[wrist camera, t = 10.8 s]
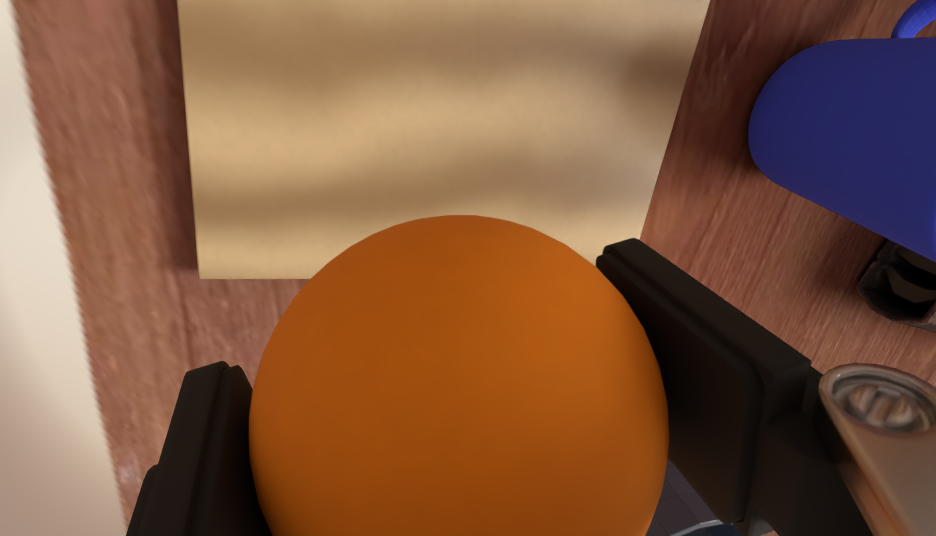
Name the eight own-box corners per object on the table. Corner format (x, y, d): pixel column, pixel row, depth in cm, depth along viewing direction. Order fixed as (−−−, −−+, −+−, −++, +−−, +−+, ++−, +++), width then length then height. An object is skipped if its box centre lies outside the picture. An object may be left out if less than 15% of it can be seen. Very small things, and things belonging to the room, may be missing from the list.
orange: (301, 488, 12) (376, 861, 7) (178, 235, 9) (132, 550, 3) (542, 375, 14) (754, 594, 8) (510, 134, 11) (813, 240, 5)
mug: (943, 27, 27) (1248, 38, 18) (776, 218, 29) (976, 307, 21) (880, -97, 23) (1231, -157, 14) (694, 135, 25) (898, 203, 17)
